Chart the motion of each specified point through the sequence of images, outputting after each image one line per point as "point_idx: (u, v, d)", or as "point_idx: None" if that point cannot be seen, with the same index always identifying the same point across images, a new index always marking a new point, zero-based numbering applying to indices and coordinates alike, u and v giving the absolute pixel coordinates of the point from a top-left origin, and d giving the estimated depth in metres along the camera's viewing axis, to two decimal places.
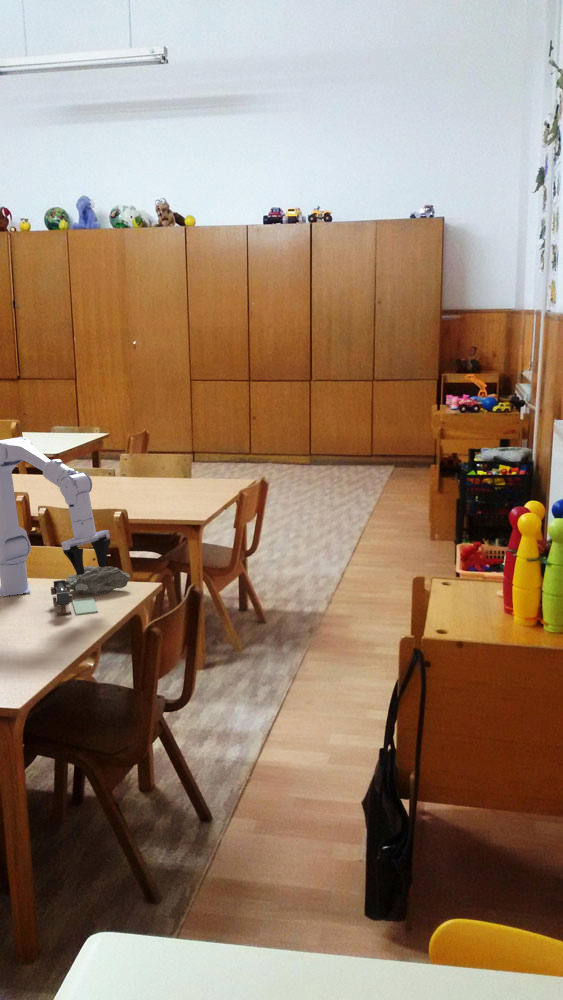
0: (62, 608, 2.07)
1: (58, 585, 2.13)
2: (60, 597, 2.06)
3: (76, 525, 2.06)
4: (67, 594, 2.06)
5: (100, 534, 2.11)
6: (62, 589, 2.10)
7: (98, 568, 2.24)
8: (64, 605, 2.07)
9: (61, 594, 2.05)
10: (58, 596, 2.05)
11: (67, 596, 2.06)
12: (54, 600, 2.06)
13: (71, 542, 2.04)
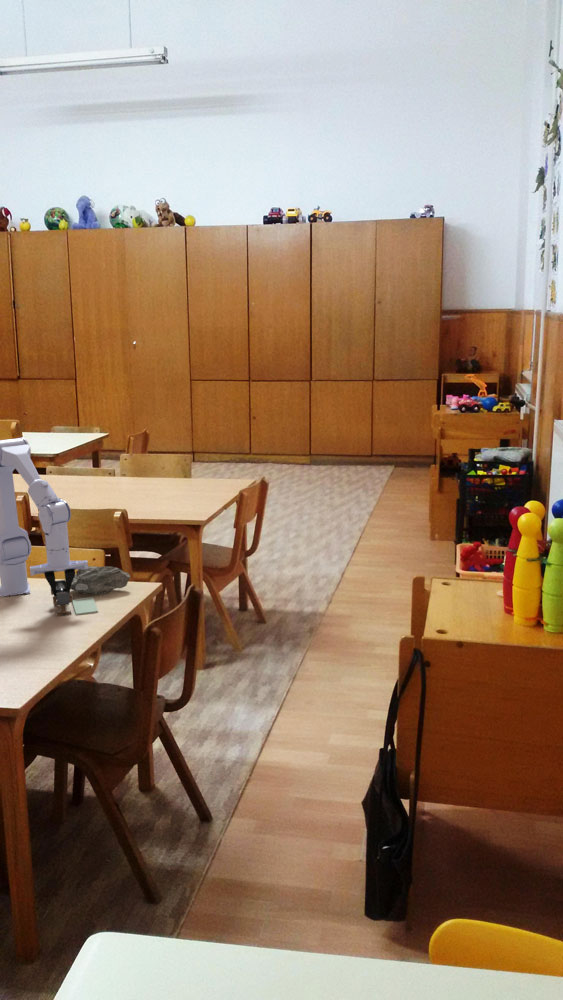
0: (62, 608, 2.07)
1: (58, 585, 2.13)
2: (60, 597, 2.06)
3: (47, 553, 2.08)
4: (67, 594, 2.06)
5: (72, 566, 2.09)
6: (62, 589, 2.10)
7: (98, 568, 2.24)
8: (64, 605, 2.07)
9: (61, 594, 2.05)
10: (58, 596, 2.05)
11: (67, 596, 2.06)
12: (54, 600, 2.06)
13: (36, 569, 2.07)
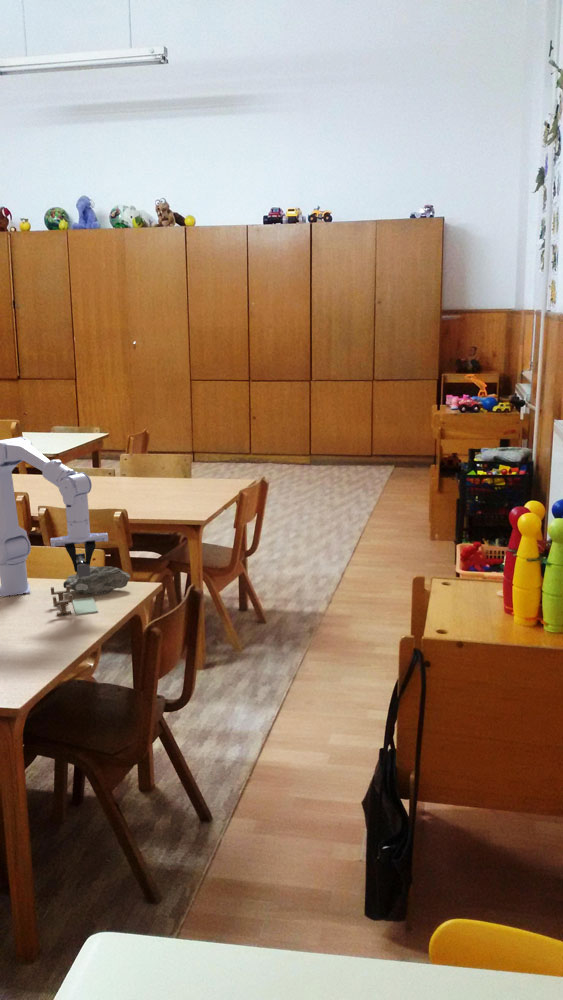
0: (62, 608, 2.07)
1: (78, 558, 2.14)
2: (81, 569, 2.06)
3: (67, 525, 2.08)
4: (88, 566, 2.06)
5: (93, 538, 2.09)
6: (82, 561, 2.10)
7: (98, 568, 2.24)
8: (64, 605, 2.07)
9: (82, 566, 2.06)
10: (79, 568, 2.06)
11: (88, 568, 2.07)
12: (54, 600, 2.06)
13: (56, 540, 2.07)
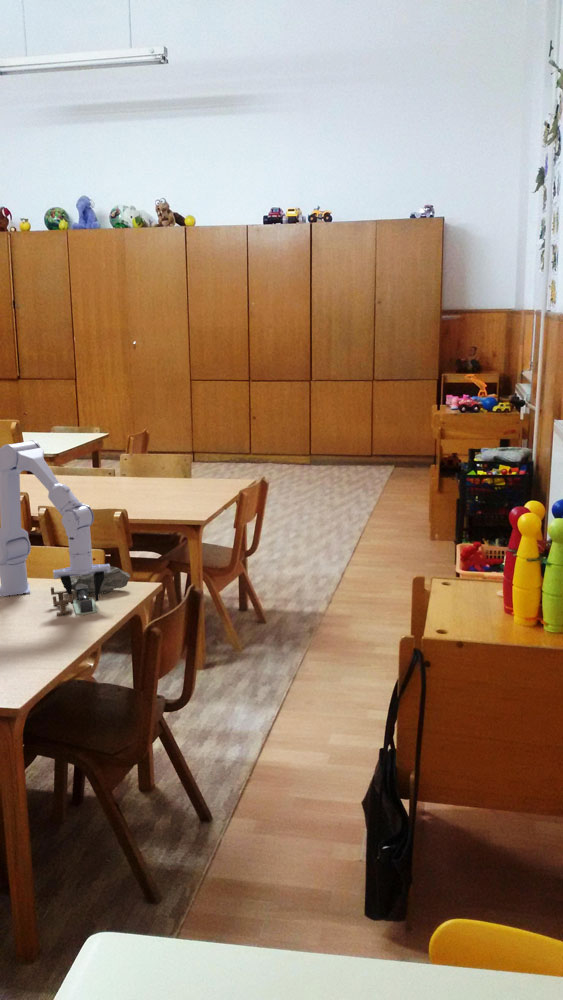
0: (62, 608, 2.07)
1: (81, 593, 2.16)
2: (83, 605, 2.08)
3: (70, 557, 2.10)
4: (90, 602, 2.08)
5: (95, 569, 2.11)
6: (85, 597, 2.12)
7: None
8: (64, 605, 2.07)
9: (84, 602, 2.08)
10: (82, 604, 2.08)
11: (90, 604, 2.08)
12: (54, 600, 2.06)
13: (59, 572, 2.09)
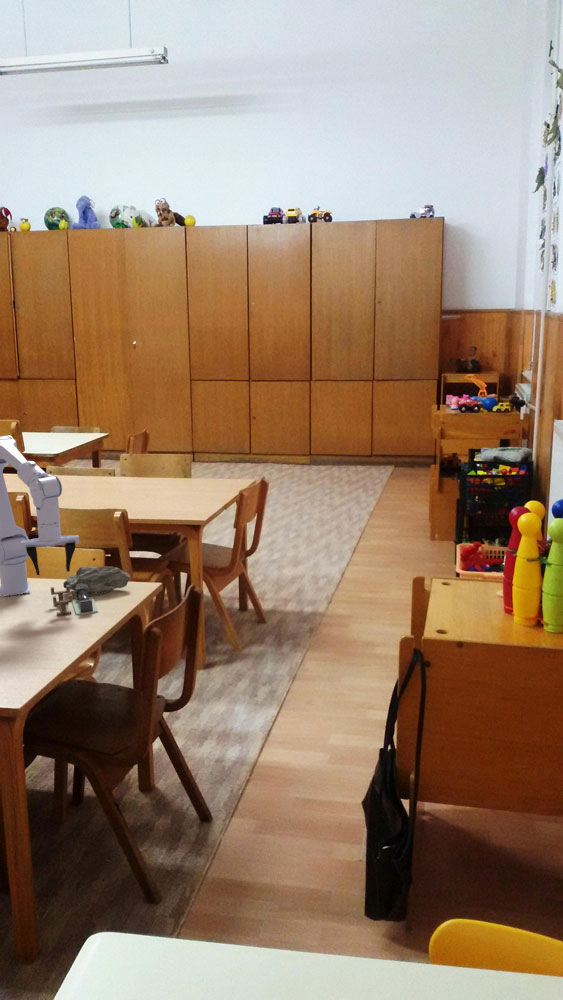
0: (62, 608, 2.07)
1: (81, 593, 2.16)
2: (83, 605, 2.08)
3: (38, 527, 2.09)
4: (90, 602, 2.08)
5: (63, 540, 2.11)
6: (85, 597, 2.12)
7: (98, 568, 2.24)
8: (64, 605, 2.07)
9: (84, 602, 2.08)
10: (82, 604, 2.08)
11: (90, 604, 2.08)
12: (54, 600, 2.06)
13: (27, 543, 2.08)
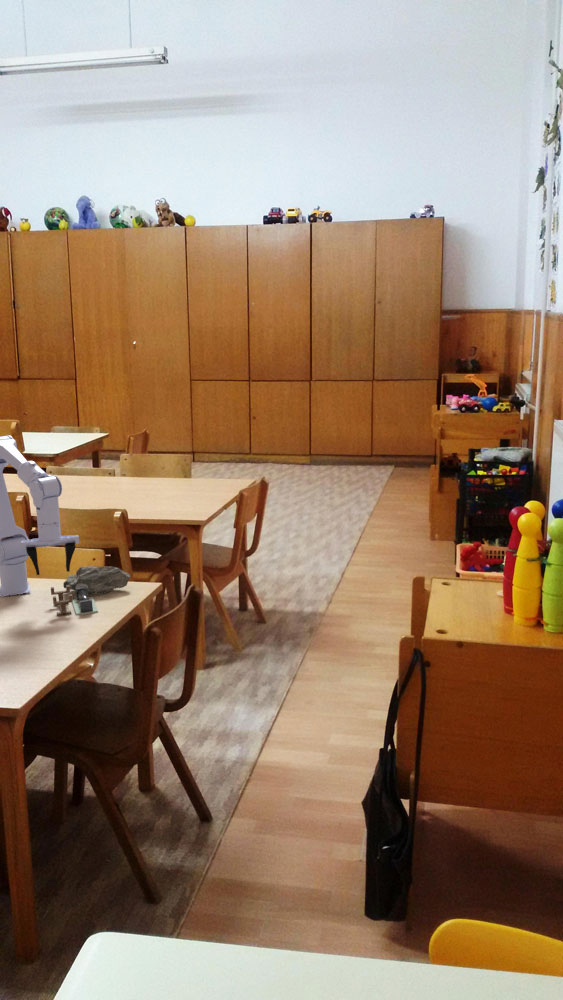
0: (62, 608, 2.07)
1: (81, 593, 2.16)
2: (83, 605, 2.08)
3: (38, 527, 2.09)
4: (90, 602, 2.08)
5: (63, 540, 2.11)
6: (85, 597, 2.12)
7: (98, 568, 2.24)
8: (64, 605, 2.07)
9: (84, 602, 2.08)
10: (82, 604, 2.08)
11: (90, 604, 2.08)
12: (54, 600, 2.06)
13: (27, 543, 2.08)
